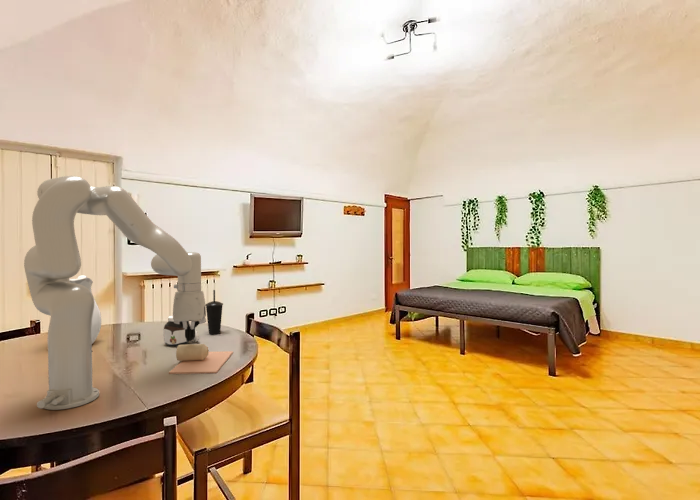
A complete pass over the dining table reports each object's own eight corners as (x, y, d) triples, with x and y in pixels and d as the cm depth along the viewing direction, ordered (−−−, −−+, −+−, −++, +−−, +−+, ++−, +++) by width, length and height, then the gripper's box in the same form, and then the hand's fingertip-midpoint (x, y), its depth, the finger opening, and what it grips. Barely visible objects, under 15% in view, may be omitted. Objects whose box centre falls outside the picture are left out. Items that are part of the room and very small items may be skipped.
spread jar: (160, 345, 155) (160, 317, 155) (181, 338, 166) (180, 312, 166) (184, 348, 151) (184, 319, 151) (203, 341, 162) (203, 314, 162)
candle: (174, 358, 131) (205, 357, 132) (177, 342, 134) (207, 341, 135) (179, 362, 136) (208, 361, 137) (181, 347, 139) (210, 346, 140)
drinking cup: (204, 332, 177) (204, 289, 176) (222, 330, 180) (221, 288, 180) (206, 336, 170) (205, 291, 169) (224, 334, 173) (223, 290, 173)
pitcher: (96, 348, 151) (95, 278, 150) (43, 353, 145) (42, 279, 144) (109, 334, 173) (108, 272, 173) (64, 337, 167) (63, 274, 166)
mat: (216, 373, 124) (216, 371, 124) (169, 374, 123) (168, 372, 123) (233, 352, 146) (233, 351, 146) (192, 353, 145) (192, 351, 145)
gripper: (163, 289, 129) (163, 343, 130) (208, 289, 130) (208, 342, 131) (172, 286, 137) (172, 337, 138) (214, 286, 138) (215, 336, 138)
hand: (190, 339), depth 134 cm, fingers closed
